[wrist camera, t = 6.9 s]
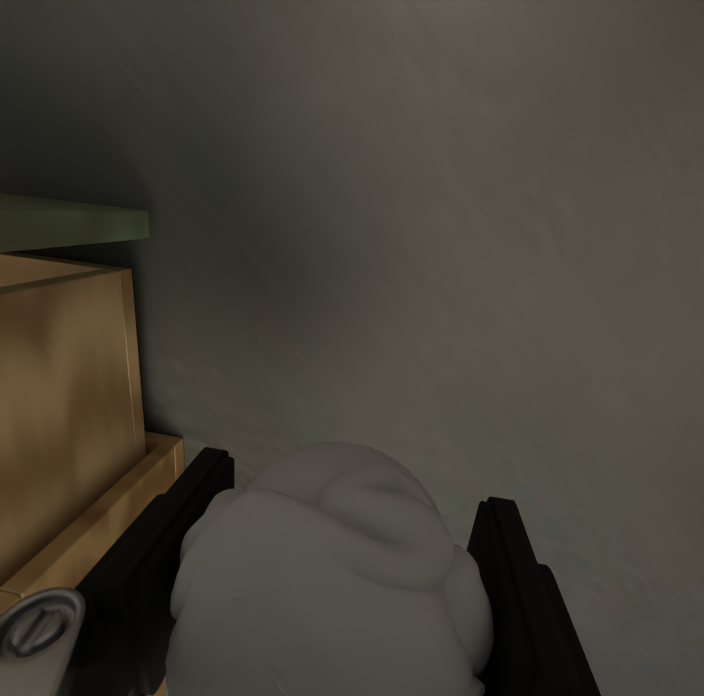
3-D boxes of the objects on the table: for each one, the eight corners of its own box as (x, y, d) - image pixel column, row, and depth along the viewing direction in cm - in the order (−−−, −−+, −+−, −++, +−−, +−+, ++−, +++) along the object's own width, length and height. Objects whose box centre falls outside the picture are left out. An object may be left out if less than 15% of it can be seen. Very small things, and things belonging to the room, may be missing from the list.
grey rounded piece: (297, 596, 13) (181, 1004, 6) (208, 407, 11) (-97, 714, 4) (490, 572, 11) (601, 1064, 5) (428, 352, 9) (475, 676, 3)
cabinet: (-30, 398, 24) (-353, 532, 14) (183, 437, 23) (-6, 619, 12) (19, 598, 30) (-186, 797, 20) (192, 641, 28) (67, 879, 18)
